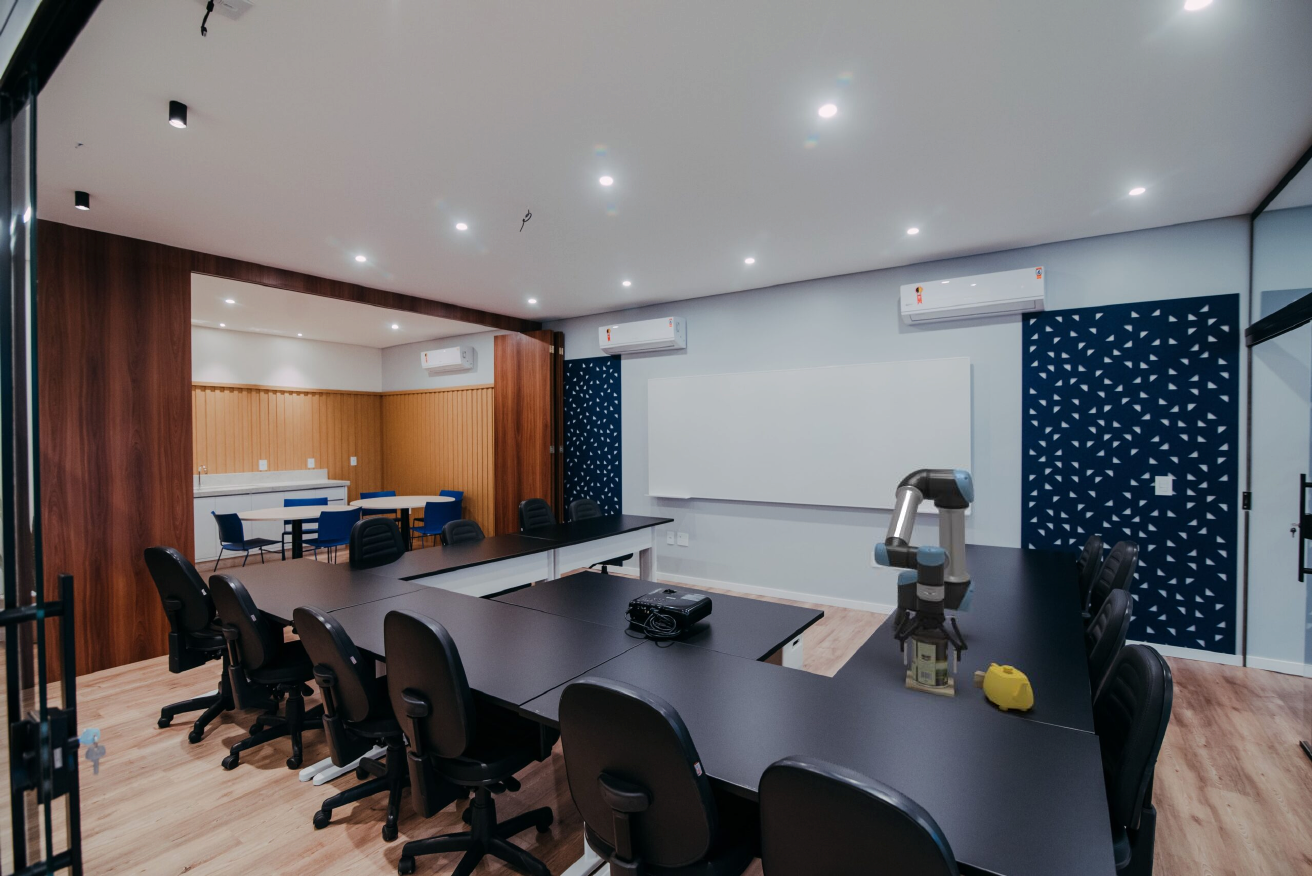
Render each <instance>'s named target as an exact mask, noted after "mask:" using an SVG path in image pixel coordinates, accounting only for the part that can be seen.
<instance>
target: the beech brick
mask: <svg viewBox="0 0 1312 876" xmlns="http://www.w3.org/2000/svg"><path fill="white" fill-rule="evenodd" d="M986 673H987V672H984V671H982V670H981V671H980V670H976V671H975V672H974V681H973V682H974V683H973V684H974V685H973V686H974V687H975V688H976V687H977V688H979V689H983V683H984V678H985V675H986ZM983 690H984V689H983Z"/></svg>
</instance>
